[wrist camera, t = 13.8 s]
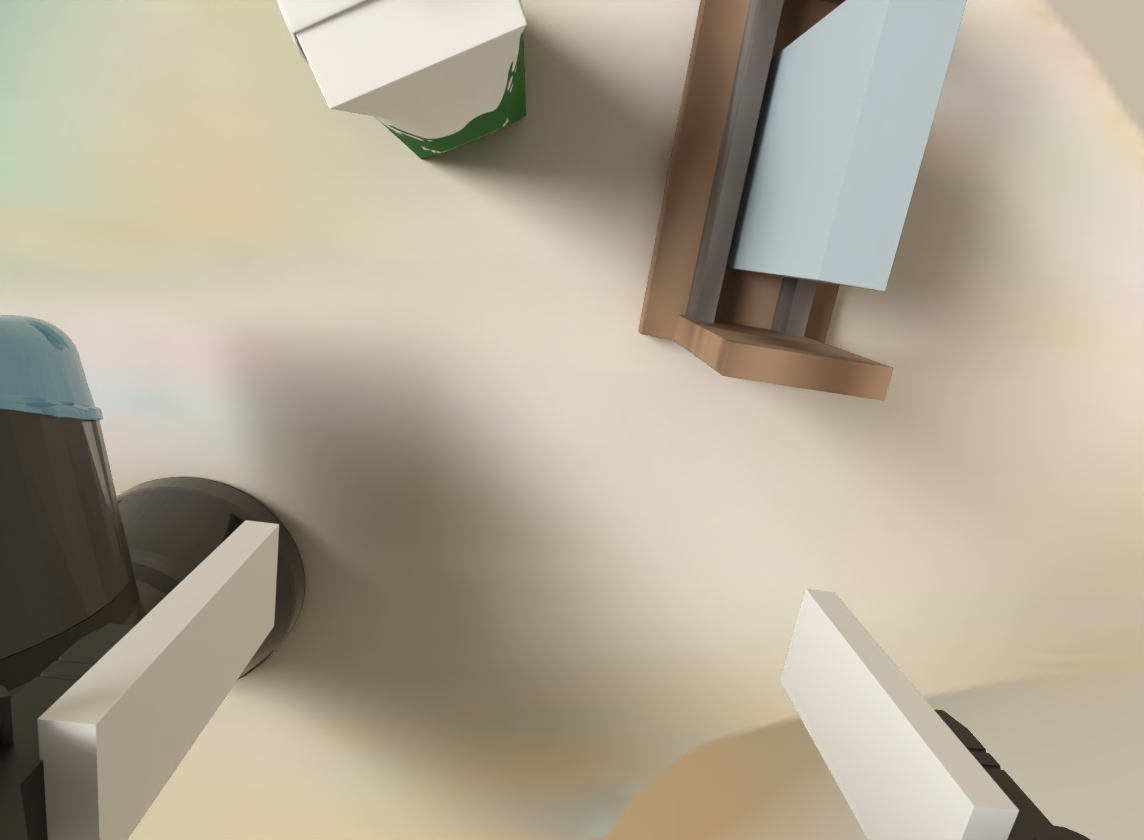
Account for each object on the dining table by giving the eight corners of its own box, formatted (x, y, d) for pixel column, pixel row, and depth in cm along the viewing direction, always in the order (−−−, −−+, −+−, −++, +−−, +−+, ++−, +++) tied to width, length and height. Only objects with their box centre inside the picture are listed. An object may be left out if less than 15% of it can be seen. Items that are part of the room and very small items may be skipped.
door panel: (725, 267, 41) (818, 279, 27) (771, 58, 38) (899, -42, 24) (771, 274, 41) (885, 290, 28) (820, 68, 38) (974, -26, 25)
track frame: (638, 331, 43) (681, 369, 30) (709, -44, 38) (799, -195, 25) (809, 358, 44) (922, 406, 31) (903, -3, 39) (1088, -126, 26)
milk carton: (487, -32, 37) (432, -325, 18) (546, 127, 40) (554, 19, 20) (347, 28, 38) (149, -195, 18) (414, 182, 40) (300, 127, 21)
